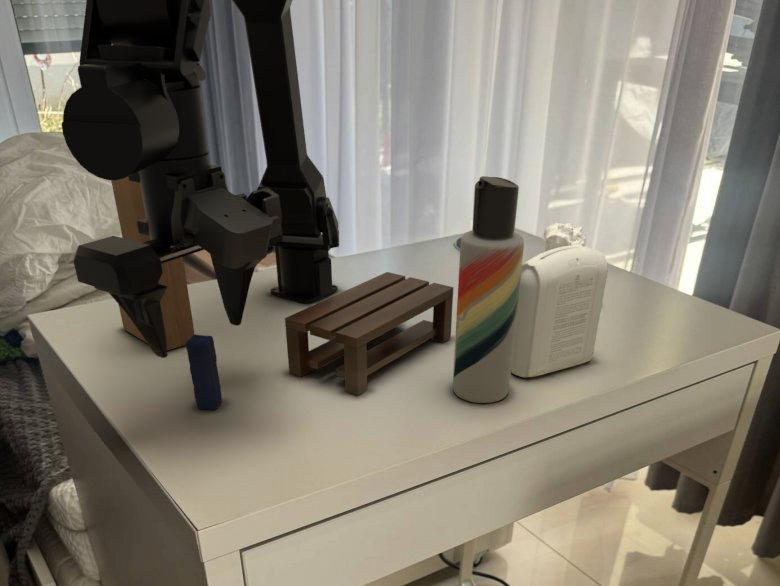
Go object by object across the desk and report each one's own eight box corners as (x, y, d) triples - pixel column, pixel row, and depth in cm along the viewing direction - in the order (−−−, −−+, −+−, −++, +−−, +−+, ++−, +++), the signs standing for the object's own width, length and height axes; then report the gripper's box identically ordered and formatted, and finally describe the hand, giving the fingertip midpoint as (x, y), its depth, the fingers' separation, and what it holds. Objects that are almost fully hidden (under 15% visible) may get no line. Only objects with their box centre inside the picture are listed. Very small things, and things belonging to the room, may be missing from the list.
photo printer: (570, 348, 87) (588, 235, 80) (598, 362, 84) (618, 245, 77) (500, 368, 83) (511, 250, 75) (526, 383, 80) (540, 262, 72)
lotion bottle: (449, 379, 80) (459, 170, 68) (503, 378, 81) (523, 170, 69) (456, 405, 76) (469, 185, 64) (513, 403, 76) (537, 185, 64)
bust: (586, 315, 101) (554, 234, 100) (632, 292, 95) (598, 205, 94) (527, 338, 95) (492, 251, 94) (572, 315, 89) (534, 222, 87)
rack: (288, 373, 81) (284, 317, 77) (386, 321, 93) (387, 271, 89) (357, 396, 77) (356, 338, 73) (450, 338, 89) (453, 287, 85)
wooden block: (122, 329, 90) (86, 160, 79) (157, 320, 92) (127, 154, 81) (161, 353, 84) (128, 175, 74) (197, 343, 87) (171, 169, 76)
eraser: (224, 401, 75) (214, 334, 71) (215, 411, 74) (205, 343, 70) (203, 399, 76) (193, 332, 72) (194, 409, 74) (182, 341, 70)
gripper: (150, 189, 52) (186, 400, 61) (324, 147, 64) (332, 328, 74) (46, 167, 57) (94, 366, 66) (226, 132, 69) (245, 303, 78)
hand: (200, 339), depth 71 cm, fingers open, 9 cm apart
